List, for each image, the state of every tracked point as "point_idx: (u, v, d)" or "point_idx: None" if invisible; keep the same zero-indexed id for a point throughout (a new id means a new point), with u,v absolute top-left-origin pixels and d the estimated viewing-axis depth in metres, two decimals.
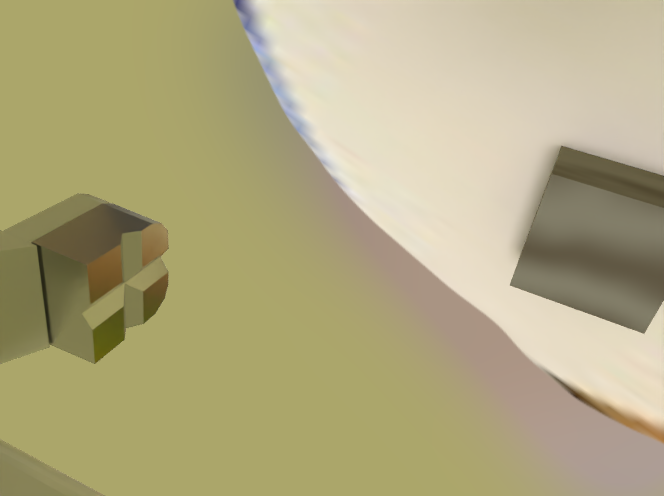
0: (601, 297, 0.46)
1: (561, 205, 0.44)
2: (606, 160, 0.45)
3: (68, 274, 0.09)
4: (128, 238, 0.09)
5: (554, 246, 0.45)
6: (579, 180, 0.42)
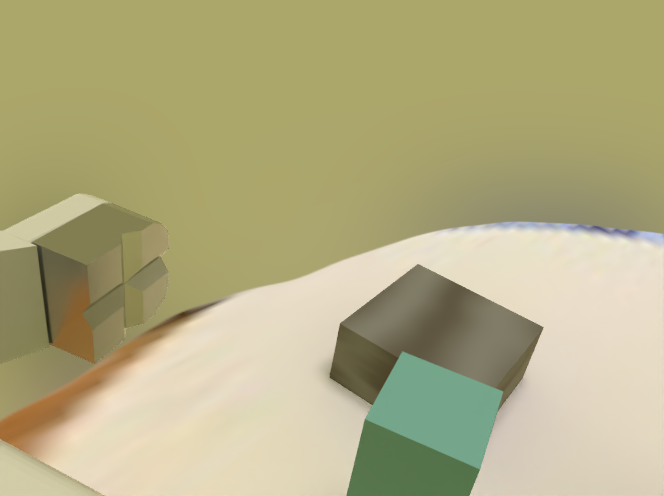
0: (393, 311, 0.42)
1: (507, 321, 0.43)
2: (505, 399, 0.43)
3: (68, 274, 0.09)
4: (128, 238, 0.09)
5: (460, 303, 0.44)
6: (532, 342, 0.42)
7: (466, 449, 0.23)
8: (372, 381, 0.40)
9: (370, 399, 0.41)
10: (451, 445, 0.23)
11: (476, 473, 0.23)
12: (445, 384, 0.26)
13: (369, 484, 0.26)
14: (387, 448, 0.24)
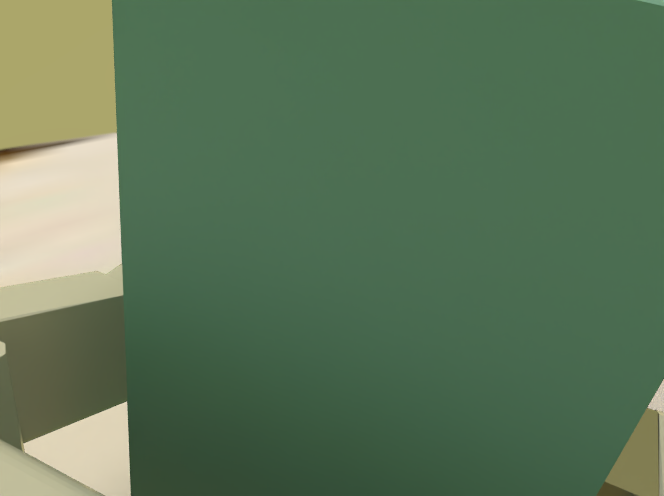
0: None
1: None
2: None
3: None
4: None
5: None
6: None
7: None
8: None
9: None
10: None
11: None
12: None
13: (194, 313, 0.06)
14: (241, 74, 0.05)
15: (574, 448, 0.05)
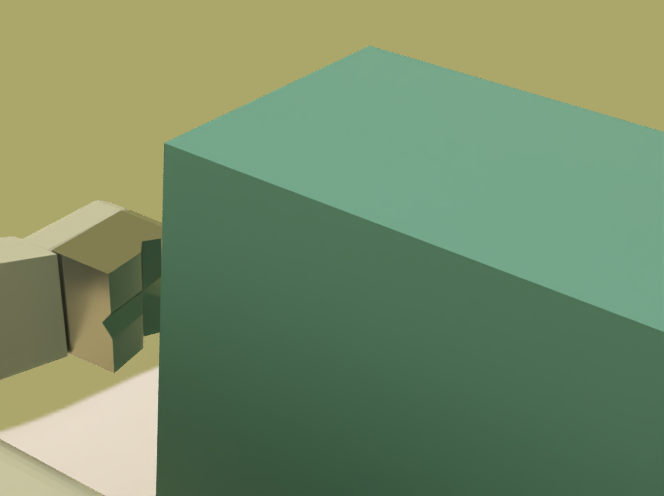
0: None
1: None
2: None
3: (88, 283, 0.08)
4: (148, 246, 0.09)
5: None
6: None
7: (651, 280, 0.05)
8: None
9: None
10: (573, 260, 0.05)
11: None
12: (514, 110, 0.07)
13: (220, 453, 0.07)
14: (271, 291, 0.05)
15: None
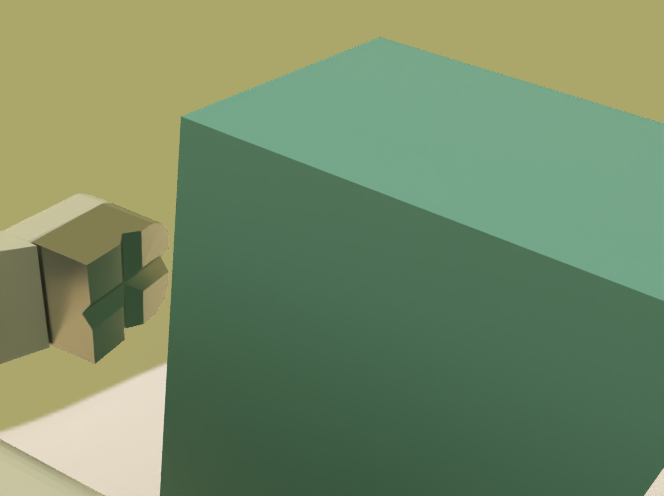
0: None
1: None
2: None
3: (68, 274, 0.09)
4: (128, 238, 0.09)
5: None
6: None
7: (654, 256, 0.05)
8: None
9: None
10: (577, 234, 0.05)
11: None
12: (521, 100, 0.08)
13: (226, 429, 0.07)
14: (281, 264, 0.06)
15: None
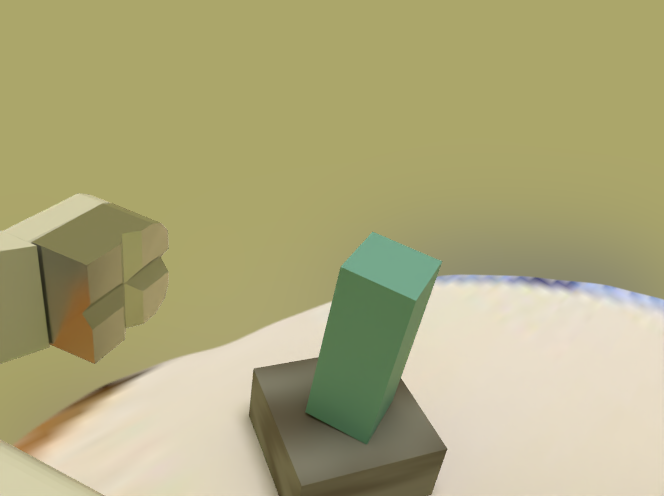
0: (311, 377, 0.44)
1: (413, 428, 0.42)
2: None
3: (68, 274, 0.09)
4: (128, 238, 0.09)
5: None
6: (421, 457, 0.40)
7: (409, 289, 0.34)
8: (263, 430, 0.44)
9: (262, 447, 0.44)
10: (398, 286, 0.34)
11: (413, 304, 0.33)
12: (401, 253, 0.37)
13: (341, 318, 0.36)
14: (355, 289, 0.35)
15: (396, 340, 0.35)
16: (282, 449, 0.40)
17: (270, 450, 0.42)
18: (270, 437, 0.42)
